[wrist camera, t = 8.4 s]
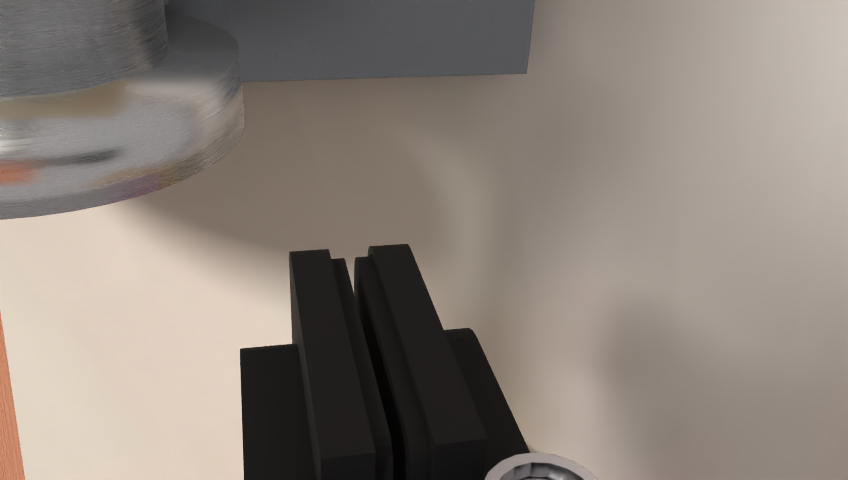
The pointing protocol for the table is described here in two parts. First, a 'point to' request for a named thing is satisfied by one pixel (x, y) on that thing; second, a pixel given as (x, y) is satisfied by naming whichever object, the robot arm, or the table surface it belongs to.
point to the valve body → (200, 79)
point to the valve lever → (8, 423)
